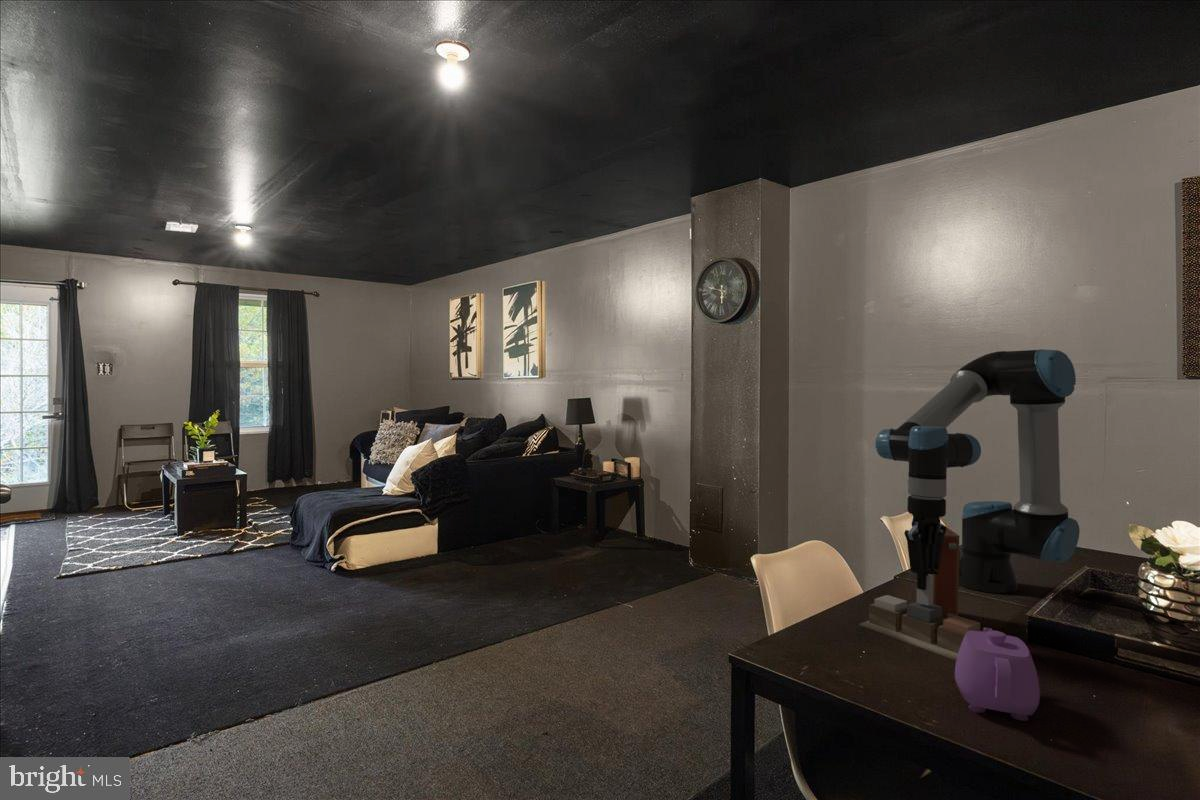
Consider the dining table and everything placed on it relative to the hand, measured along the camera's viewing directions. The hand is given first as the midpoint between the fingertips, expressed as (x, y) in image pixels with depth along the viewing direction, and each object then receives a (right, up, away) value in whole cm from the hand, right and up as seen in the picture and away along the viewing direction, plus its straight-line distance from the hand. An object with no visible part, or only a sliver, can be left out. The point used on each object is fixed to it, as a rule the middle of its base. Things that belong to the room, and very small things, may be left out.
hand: (924, 603), depth 141 cm
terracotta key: (+5, -6, -6) cm, 10 cm away
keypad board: (0, -8, 0) cm, 8 cm away
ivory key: (-4, -5, +7) cm, 10 cm away
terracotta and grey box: (+9, -8, +12) cm, 17 cm away
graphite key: (0, -5, 0) cm, 5 cm away
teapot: (-2, -9, -29) cm, 30 cm away
